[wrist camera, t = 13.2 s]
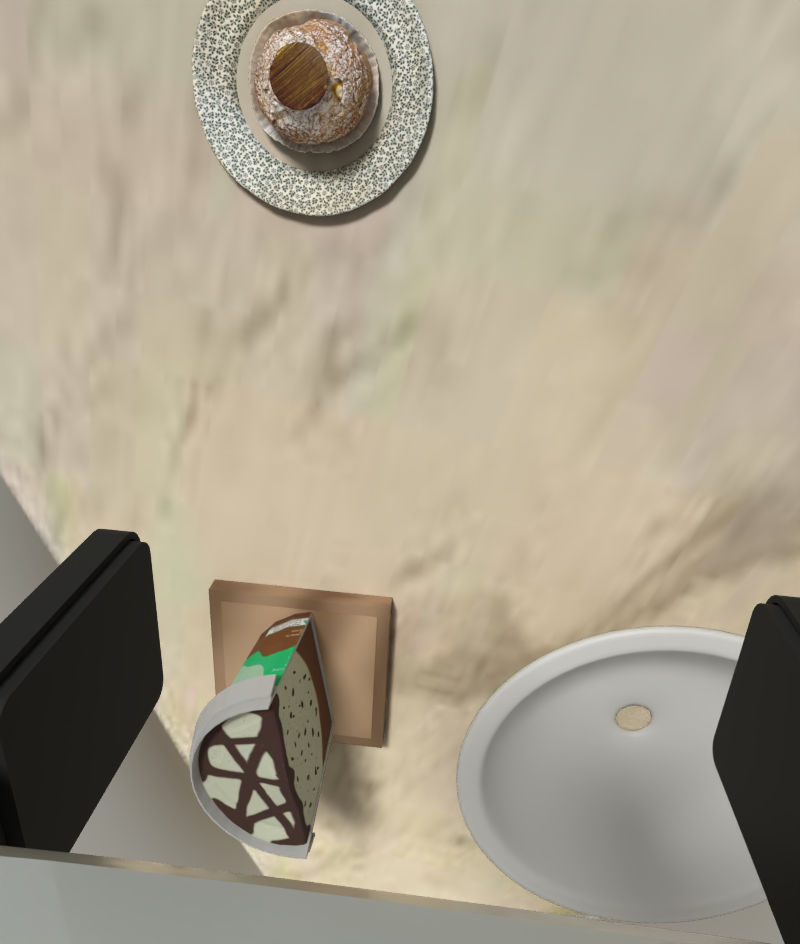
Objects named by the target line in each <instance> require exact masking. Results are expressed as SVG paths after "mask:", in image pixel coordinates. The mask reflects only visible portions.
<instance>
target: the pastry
mask: <svg viewBox="0 0 800 944" xmlns="http://www.w3.org/2000/svg"><path fill="white" fill-rule="evenodd" d="M277 1H279V0H209V1H208V3H207V4H206V6H205V9H204V11H203V13H202V16H201V18H200V21H199V24H198V27H197V30H196V36H195V40H194V45H193V53H192V74H193V91H194V100H195V105H196V109H197V113H198V116H199V119H200V121H201V125H202V128H203V130H204V133H205V136H206V139H207V141H208V143H209V145H210V147H211V149H212V150H213V152H214V154H215V155H216V157H217V158H218V160H219V161H220V163H221V164H222V166H223V167H224V168H225V169H226V171H227V172H228V173H229V174H230V175H231V176H232V177H233V178H234V179H235V180H236V181H237V182H238V183H239V184H240V185H241V186H243V187H244V188H245V189H246V190H248V191H249V192H250V193H252V194H254V195H255V196H257V197H258V198H259V199H261V200H263V201H264V202H266V203H268V204H269V205H271V206H274V207H276V208H278V209H282V210H285V211H289V212H293V213H296V214H300V215H307V216H332V215H337V214H342V213H345V212H349V211H351V210H354V209H356V208H358V207H361V206H362V205H364V204H366V203H368V202H370V201H372V200H373V199H375V198H377V197H378V196H380V195H381V194H383V193H384V192H385V191H387V190H388V189H389V188H390V187H391V186H392V185H393V183H394V182H395V181H396V180H397V179H398V178H399V176H401V174H402V173H403V172H404V171H405V170H406V169H407V168H408V166H409V165H410V164H411V162H412V161H413V159H414V157H415V155H416V153H417V151H418V149H419V147H420V145H421V143H422V141H423V138H424V135H425V132H426V130H427V127H428V123H429V118H430V114H431V108H432V100H433V77H434V76H433V64H432V57H431V52H430V48H429V43H428V39H427V34H426V31H425V28H424V25H423V22H422V19H421V17H420V15H419V12H418V10H417V9H416V7H415V5H414V3H413V1H412V0H344V1H346V2H348V3H349V4H351V5H353V6H354V7H355V8H356V9H358V10H359V11H360V12H361V13H362V14H363V15H364V16H365V17H366V18H367V19H368V20H369V21H370V23H371V24H372V25H373V26H374V28H375V29H376V31H377V32H378V34H379V36H380V38H381V40H382V41H383V44H384V46H385V48H386V51H387V55H388V58H389V62H390V66H391V73H392V99H391V105H390V110H389V114H388V117H387V119H386V122H385V125H384V127H383V129H382V131H381V133H380V135H379V136H378V138H377V139H376V141H375V142H374V144H373V145H372V146H371V147H370V148H369V149H368V150H367V151H366V152H365V153H364V154H363V155H362V156H361V157H359V158H358V159H357V160H355V161H353V162H351V163H350V164H348V165H346V166H343V167H341V168H337V169H335V170H328V171H322V172H321V171H320V172H315V171H314V172H313V171H306V170H301V169H297V168H294V167H291V166H289V165H287V164H286V163H283V162H281V161H280V160H279V159H277V158H275V157H274V156H273V155H271V154H270V153H269V152H268V151H267V150H266V149H265V148H264V147H263V146H262V145H261V144H260V143H259V141H258V140H257V139H256V138H255V137H254V135H253V133H252V132H251V130H250V128H249V127H248V125H247V123H246V120H245V118H244V116H243V113H242V110H241V107H240V103H239V99H238V93H237V82H236V73H237V65H238V57H239V54H240V50H241V47H242V44H243V41H244V39H245V37H246V35H247V33H248V31H249V29H250V28H251V26H252V25H253V23H254V22H255V21H256V19H257V18H258V17H259V16H260V15H261V14H262V13H263V12H264V11H265V10H266V9H267V8H269V7H270V6H271V5H273V4H275V3H276V2H277ZM249 87H250V89H251V95H252V105H253V108H254V111H255V114H256V116H257V119H258V120H259V122H260V124H261V126H262V128H263V129H264V131H265V132H266V133H267V134H268V135H269V136H270V137H272V138H273V139H274V140H275V141H279V142H280V143H281V144H282V145H285V146H287V147H288V148H289V149H294V150H296V151H297V152H300V151H301V152H304V153H306V152H308V151H311V152H313V153H324V152H326V153H331V152H332V151H333V150H337V151H339V150H341V149H344V148H345V147H347V146H348V145H350V144H352V143H353V142H355V141H356V140H357V139H359V138H360V137H361V136H362V134H363V133H364V132H365V131H366V129H367V128H368V126H369V125H370V124H371V121H372V119H373V117H374V113H375V111H376V108H377V105H378V97H379V72H378V64H377V61H376V57H375V53H374V52H373V51H372V48H371V46H370V45H369V44H368V43H367V40H366V39H365V37H364V36H362V35H359V30H356V29H355V28H354V27H353V25H352V24H351V23H349V22H348V21H346V19H344V18H342V17H340V16H336V14H334V13H331V12H330V13H329V12H325V11H323V12H322V11H319V10H311V9H310V10H308V9H305V10H299V11H294V12H290V13H287V14H285V15H283V16H280V17H279V18H277V19H274V20H272V21H271V22H270V23H268V24H267V25H266V26H265V27H264V28H263V30H262V31H261V33H260V34H259V36H258V38H257V40H256V43H255V45H254V47H253V52H252V54H251V59H250V62H249Z"/></svg>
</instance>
